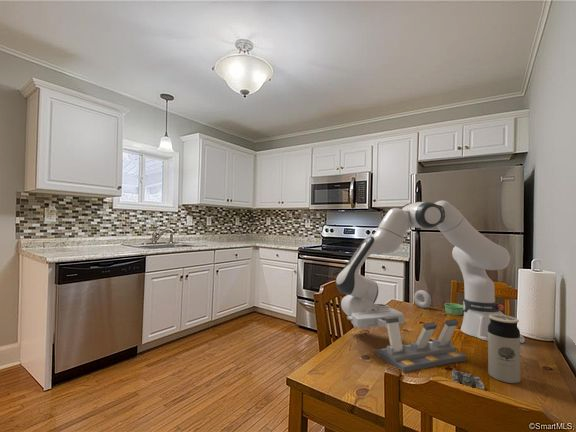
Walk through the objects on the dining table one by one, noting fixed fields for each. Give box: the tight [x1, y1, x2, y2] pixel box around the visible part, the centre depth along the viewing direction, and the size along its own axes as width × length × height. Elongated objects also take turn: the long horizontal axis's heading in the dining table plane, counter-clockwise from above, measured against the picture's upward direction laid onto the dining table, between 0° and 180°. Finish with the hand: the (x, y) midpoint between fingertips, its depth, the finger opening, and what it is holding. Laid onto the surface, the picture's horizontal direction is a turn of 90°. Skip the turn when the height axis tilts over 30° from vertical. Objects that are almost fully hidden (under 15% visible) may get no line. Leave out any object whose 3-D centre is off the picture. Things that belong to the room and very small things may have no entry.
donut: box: [413, 289, 432, 309], centre depth 169 cm, size 10×4×10 cm, turn 32°
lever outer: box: [385, 318, 403, 352], centre depth 103 cm, size 2×4×11 cm, turn 110°
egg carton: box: [451, 368, 485, 391], centre depth 83 cm, size 11×8×4 cm
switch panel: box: [375, 338, 468, 373], centre depth 105 cm, size 14×27×5 cm, turn 110°
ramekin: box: [444, 302, 464, 316], centre depth 159 cm, size 9×9×4 cm
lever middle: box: [414, 321, 438, 349], centre depth 103 cm, size 2×4×11 cm, turn 110°
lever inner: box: [437, 318, 460, 345], centre depth 106 cm, size 2×4×11 cm, turn 110°
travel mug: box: [487, 314, 521, 384], centre depth 91 cm, size 8×8×18 cm
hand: (391, 325), depth 104 cm, fingers closed, pressing on lever outer
